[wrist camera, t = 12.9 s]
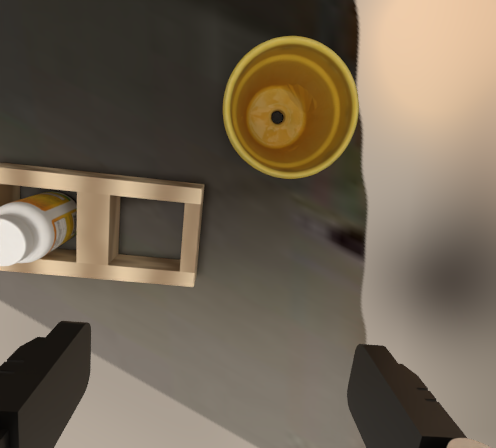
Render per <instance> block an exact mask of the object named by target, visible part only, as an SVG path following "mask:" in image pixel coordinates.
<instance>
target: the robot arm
mask: <svg viewBox="0 0 496 448" xmlns="http://www.w3.org/2000/svg"><path fill="white" fill-rule="evenodd" d="M90 355H91V327H90V324H89V323H84V322H71V321H61V322H59V323H58V324H57V326H56V327H55V328H54V329H53V330H52V331H51V332H50V333H49V334H48V335H47V337H46V338H44V337H37V338H35V339H33V340H32V341H30V342H28V343H26V344H24V345H22V346H20V347H19V348H18V349H17V350H16V351H15V352H14V353H13V354H12V355H11V356H10V357H9V358H8V359H7V362H4V363H3V364H2V365H1V366H0V448H54V446H55V445H56V443H57V441H58V439H59V437H60V436H61V434H62V432H63V430H64V428H65V427H66V425H67V423H68V421H69V420H70V418H71V416H72V414H73V413H74V411H75V409H76V407H77V405H78V404H79V402H80V400H81V398H82V396H83V395H84V393H85V391H86V388H87V384H88V381H89V376H90V357H91V356H90ZM347 399H348V406H349V409H350V412H351V414H352V416H353V419H354V421H355V423H356V425H357V428H358V430H359V432H360V434H361V437H362V439H363V441H364V443H365V446H366V448H491V447H489V446H487V445H485V444H483V443H481V442H478V441H475V440H472V439H468V438H467V437H466V436H465V435H464V434H463V432H462V431H461V430H460V428H459V427H458V426H457V425H456V423H455V422H454V421H453V420H452V418H451V417H450V416H449V415H448V414H447V412H446V411H445V410H444V408H443V407H442V406H441V405H440V403H439V402H437V401H436V398H435V397H434V396H433V395H432V393H431V392H430V391H428V388H427V387H426V386H425V385H424V383H423V382H422V381H421V379H420V378H419V377H418V376H417V375H416V374H415V373H413V372H412V371H411V370H409V369H408V368H407V367H405V366H404V365H403V364H398V363H397V362H396V360H395V359H394V357H393V356H392V355H391V353H390V352H389V351H388V350H387V349H386V347H384V346H378V345H366V344H359V345H358V346H357V348H356V350H355V355H354V359H353V364H352V369H351V374H350V379H349V384H348V390H347Z"/></svg>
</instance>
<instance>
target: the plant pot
mask: <svg viewBox="0 0 496 448" xmlns="http://www.w3.org/2000/svg"><path fill="white" fill-rule="evenodd" d="M275 111H279V112H281V113H282V114H283V116H284V119H283V121H282V122H281V123H280V124H275V123H273V121H272V119H271V115H272V113H273V112H275ZM358 112H359V103H358V94H357V89H356V85H355V82H354V80H353V77H352V75H351V73H350V71H349V69H348V68H347V66H346V65H345V63H344V62H343V60H342V59H341V58H340V57H339V56H338V55H337V54H336V53H335V52H334V51H332V50H331V49H330V48H328V47H327V46H325V45H324V44H322V43H320V42H318V41H315V40H313V39H310V38H306V37H300V36H284V37H278V38H274V39H271V40H268V41H266V42H263V43H261V44H260V45H258V46H256V47H255V48H253V49H252V50H251V51H249V52H248V53H247V54H246V55H245V56H244V57H243V58H242V59H241V60H240V61H239V63H238V64H237V65H236V67H235V68H234V70H233V72H232V74H231V76H230V78H229V80H228V83H227V86H226V89H225V93H224V99H223V120H224V125H225V129H226V133H227V135H228V138H229V140H230V142H231V144H232V146H233V147H234V149H235V150H236V152H237V153H238V154H239V155H240V156H241V157H242V159H243V160H245V161H246V162H247V163H248V164H249V165H251V166H252V167H254V168H255V169H257V170H259V171H261V172H263V173H265V174H267V175H270V176H274V177H278V178H285V179H295V178H302V177H307V176H310V175H313V174H316V173H318V172H320V171H322V170H323V169H325V168H327V167H328V166H329V165H331V164H332V163H333V162H334V161H335V160H336V159H337V158H338V157H339V156H340V155H341V154H342V153H343V152H344V150H345V149H346V147H347V146H348V144H349V142H350V140H351V138H352V136H353V134H354V131H355V128H356V124H357V119H358Z"/></svg>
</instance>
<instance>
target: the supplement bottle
mask: <svg viewBox="0 0 496 448" xmlns="http://www.w3.org/2000/svg"><path fill="white" fill-rule="evenodd" d="M76 233H77V204H76V203H75V201H74V200H73V199H71V198H70V197H69V196H67V195H65V194H63V193H60V192H54V191H50V192H44V193H40V194H37V195H34V196H30V197H27V198H24V199H20V200H17V201H14V202H10V203H7V204H5V205H3V206H1V207H0V266H10V265H13V264H16V263H30V262H33V261H36V260H38V259H40V258H42V257H43V256H45V255H46V254H48V253H49V252H51V251H52V250H54V249H56V248H57V247H59V246H60V245H62V244H63V243H65V242H66V241H68V240H69V239H71V238H72V237H73V236H75V235H76Z"/></svg>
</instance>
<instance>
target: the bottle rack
mask: <svg viewBox="0 0 496 448" xmlns="http://www.w3.org/2000/svg"><path fill="white" fill-rule="evenodd" d="M20 186H27V187H37V188H47V189H56V190H66V191H76V192H77V250H67V249H54V250H52V251H51V252H49V253H48V254H46V255H45V256H43V257H42V258H40V259H38V260H36V261H33V262H30V263H16V264H13V265H10V266H0V270H1V271H13V272H24V273H36V274H48V275H59V276H71V277H83V278H95V279H106V280H118V281H130V282H142V283H153V284H165V285H177V286H188V287H194V283H195V279H196V274H197V263H198V252H199V240H200V229H201V218H202V206H203V195H204V184H197V183H188V182H179V181H169V180H160V179H151V178H142V177H132V176H123V175H114V174H104V173H95V172H86V171H77V170H67V169H58V168H49V167H39V166H30V165H21V164H12V163H0V207H1V206H3V205H5V204H7V203H10V202H14V201H17V200H20ZM120 196H124V197H134V198H143V199H153V200H163V201H172V202H182V203H185V209H184V222H183V235H182V248H181V260H177V259H166V258H155V257H144V256H133V255H122V254H118V252H119V224H120Z"/></svg>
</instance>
